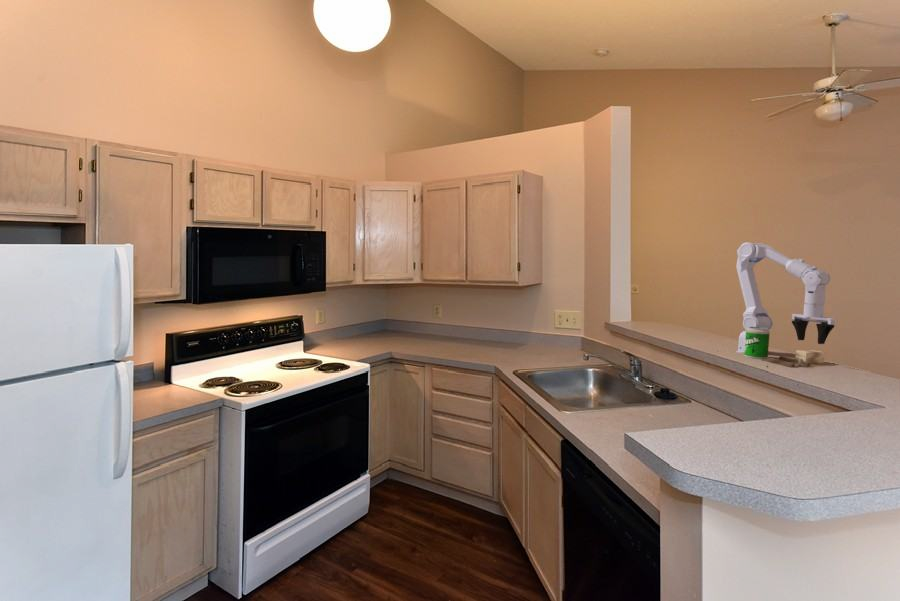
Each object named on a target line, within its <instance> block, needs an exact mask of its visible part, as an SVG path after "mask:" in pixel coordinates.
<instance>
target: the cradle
mask: <svg viewBox="0 0 900 601" xmlns="http://www.w3.org/2000/svg"><path fill="white" fill-rule="evenodd" d="M761 361H763V362H765V363H766V362H767V363H769V364H774V365H778V366H782V367H786V368H812V367H813V368H815V367H835V366H837V365H835V364H832V363H827V362H823V363H813V364H810V363H809V362H805V361H803V359H799V360H796V359H795V358H791V357H786V356H782V355H781V356H779V358H774V357H769V356H768V357H764V359H761Z"/></svg>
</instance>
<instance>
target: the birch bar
mask: <svg viewBox="0 0 900 601" xmlns="http://www.w3.org/2000/svg"><path fill="white" fill-rule="evenodd" d="M794 359H796V360H799V359H803V361H805V362H809V363H810V364H813V363H824V360H825V352H824V351H821V350H815V349H802V350H798V349H797V350H795V358H794Z"/></svg>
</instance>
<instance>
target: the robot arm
mask: <svg viewBox="0 0 900 601" xmlns="http://www.w3.org/2000/svg"><path fill="white" fill-rule="evenodd" d="M736 254H737V260H736V271H737V272H736V273H737V276H738V280H739V284H740V288H741V293H742V297H743V300H744V305H745V311H744V312H743V313H742V316H743V320H742V327H743V329H744V330H743V331H741V332H740V334H739V336H738V345H737V347H738V348H737V350H736V351H735V352H736V353H744V352H745V338H746V329H748V328H749V327H762V328H767V330H768V331H770V330H771V329H772V328H773V324H774V321H773V319H772V318H771V317H770V315H769V312H768V310H767V309H765V307H763V303H762V300H761V296H760V292H759V287H758V284H757V280H756V279H757V278H756V276H755V271H754V268H755V266H756V265H758V264H759V263H760V262H762V260H763V259H765V258H767V259H769V260H771V261H772V262H775V263H777V264H778V265H780V266H783V267H785V269H786V272H787V273H789V274H790V275H792V276H794V277H796V278H797V279H799V280H801V281H802V282H803V284H804V286H805V290H804V291H805V292H804V303H803V314H800V313H792V314H791V315H792V316H791V319H792V320H791V324H792V325H793V328H794V329H795V332H796V333H795V334H796V336H797V341H805V338H806V332H807V327H808V325H809V322H813V323H816V324H815V325H816V329H817V344H818V345H824V344H825V342H826V340H827V338H828V336H829V335H830V333H831V331H833V329H834V328H835V325H836V318H830V317H827V316H824V312H825V310H824V309H825V300H826V288H827V285H828V284H829V283H830V281H831V275H830V273H829V272H827V271H826V269H817V268H818V267H817V266H816V265H811V264H809V263H807V262H806V261H805V259H803V258H794V259H792V258H790V257H789V256H787V255H785V254H783V253H782V252H781V251H778V250H777V249H775V248H774V247H772V246H771V245H768V244H766V243H763V242H743V243H742V244H741V245H740V246H739V247H738V249H737V251H736Z"/></svg>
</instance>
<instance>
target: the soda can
mask: <svg viewBox="0 0 900 601" xmlns="http://www.w3.org/2000/svg"><path fill="white" fill-rule="evenodd" d="M745 331H746V338H745V352H743V353H744V357H745V358H749V359H755V360H764V357H769V344H770V333H771V332H770V330H769V331H768V330H767V328H762V327H749V328H748V329H746V330H745Z"/></svg>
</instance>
